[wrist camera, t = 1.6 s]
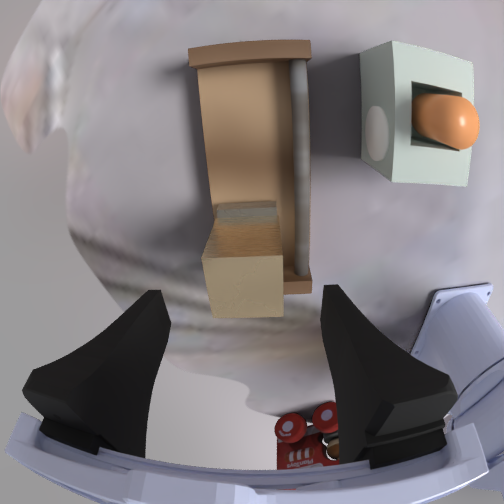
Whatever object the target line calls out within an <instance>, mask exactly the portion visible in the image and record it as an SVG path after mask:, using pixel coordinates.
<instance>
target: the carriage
mask: <svg viewBox="0 0 504 504" xmlns="http://www.w3.org/2000/svg"><path fill="white" fill-rule="evenodd" d="M217 217H218V218H216V220H215V222H214V225H213V228H212V230H211V233H210V236H209V238H208V241H207V244H206V247H205V249H204V252H203V255H202V258H201V260H202V265H203V270H204V276H205V281H206V286H207V291H208V296H209V301H210V306H211V311H212V316H213V318H253V317H283V252H282V242H281V232H280V222H279V215H277V206H276V201H267V202H246V203H228V204H219V206H218V208H217Z"/></svg>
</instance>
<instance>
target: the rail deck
mask: <svg viewBox="0 0 504 504" xmlns="http://www.w3.org/2000/svg"><path fill="white" fill-rule="evenodd" d="M188 56H189V66H190V67H192V68H195V69H197V72H198V84H199V94H200V105H201V115H202V124H203V134H204V143H205V151H206V160H207V169H208V177H209V185H210V193H211V201H212V208H213V216H214V222H215V220H216V218H218V217H217V208H218V206H219V204H228V203H246V202H267V201H276V206H277V215H279V222H280V232H281V242H282V252H283V295H286V294H308V293H312V277H311V273H310V268H309V247H310V196H311V171H310V121H309V97H308V78H307V63H306V62H307V61H308V60H310V59H311V58H312V57H311V44H310V40H261V41H245V42H234V43H224V44H216V45H209V46H202V47H196V48H190V49H188Z"/></svg>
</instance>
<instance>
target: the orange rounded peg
mask: <svg viewBox="0 0 504 504" xmlns="http://www.w3.org/2000/svg"><path fill="white" fill-rule="evenodd" d="M411 123H412V126H413V127H414V129H415V130H416V131H417V132H418V133H419V134H420V135H422V136H425V137H427V138H430V139H433V140H436V141H438V142H441V143H444V144H446V145H449V146H451V147H454V148H456V149H460V150H463V149H467V148H469V147H471V146H472V145H473V144H474V142H475V141H476V139H477V137H478V134H479V117H478V114H477V111H476V109H475V108H474V106H473V105H472V103H471V102H470V101H468V100H467V99H465V98H463V97H459V96H451V95H442V94H431V93H422V94H419V95H417V96H416V97H415V98H414V99H413V101H412V115H411Z"/></svg>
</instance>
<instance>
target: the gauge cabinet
mask: <svg viewBox="0 0 504 504" xmlns="http://www.w3.org/2000/svg"><path fill="white" fill-rule="evenodd" d="M359 56H360V73H361V100H362V143H361V160H363V161H364V162H366V163H367V164H368V165H370V166H371V167H372V168H374V169H375V170H376V171H378V172H379V173H380V174H382V175H383V176H384V177H386V178H387V179H388V180H390V181H391V182H402V183H422V184H439V185H452V186H464V187H467V182H468V175H469V168H470V159H471V150H472V146H471V147H469V148H467V149H463V150H460V149H456V148H454V147H451V146H449V145H446V144H444V143H441V142H438V141H436V140H433V139H430V138H427V137H425V136H422V135H420V134H419V133H418V132H417V131H416V130H415V129H414V127H413V126H412V123H411V115H412V101H413V99H414V98H415V97H416V96H417V95H419V94H422V93H431V94H442V95H451V96H459V97H463V98H465V99H467V100H468V101H470V102H471V103H472V105H473V106H474V76H473V63H471V62H468V61H466V60H463V59H460V58H457V57H454V56H451V55H448V54H444V53H441V52H438V51H434V50H431V49H427V48H423V47H419V46H415V45H411V44H406V43H402V42H397V41H389V42H387V43H384V44H381V45H379V46H376V47H373V48H371V49H368V50H366V51H363V52H361V53H359Z"/></svg>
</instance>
